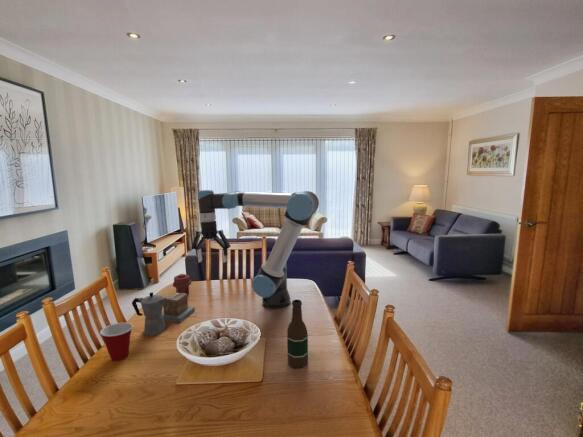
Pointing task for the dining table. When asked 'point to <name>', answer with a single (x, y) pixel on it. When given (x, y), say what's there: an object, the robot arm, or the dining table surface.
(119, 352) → the plastic cup
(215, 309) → the dining table surface
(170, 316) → the shaft stand
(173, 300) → the cardboard box
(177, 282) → the mechanical component
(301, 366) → the beer bottle
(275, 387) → the dining table surface
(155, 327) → the coffeepot
